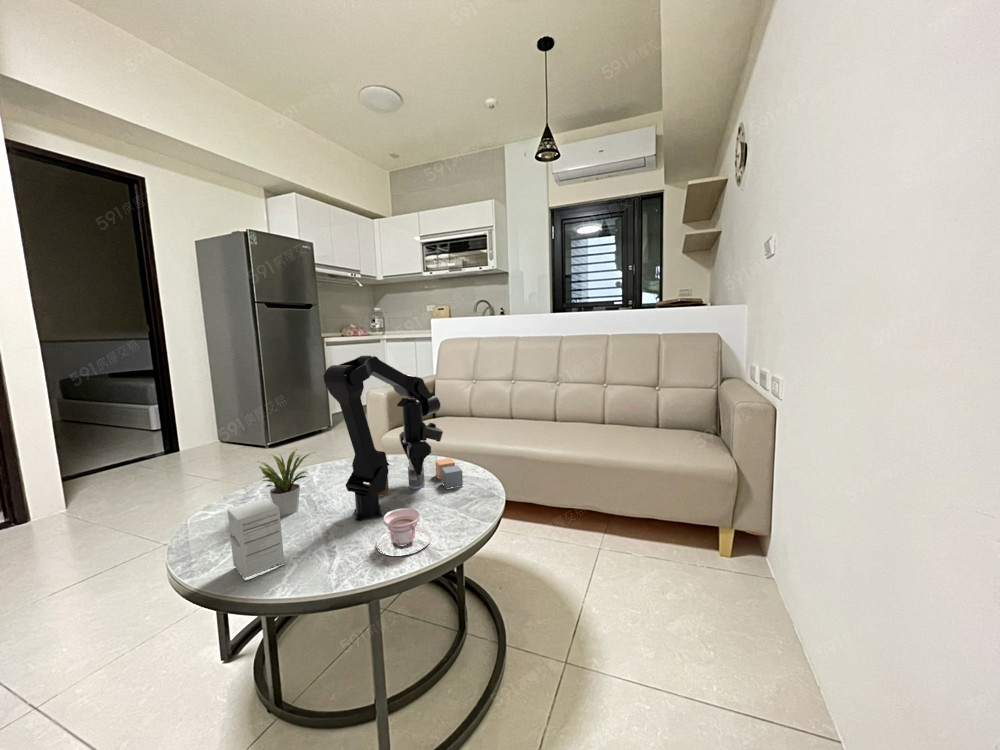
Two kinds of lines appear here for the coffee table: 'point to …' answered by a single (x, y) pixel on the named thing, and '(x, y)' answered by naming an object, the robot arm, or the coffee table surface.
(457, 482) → the slate-grey block
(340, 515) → the coffee table surface
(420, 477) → the pill bottle
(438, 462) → the terracotta block
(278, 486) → the house plant
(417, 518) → the teacup
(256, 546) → the supplement box
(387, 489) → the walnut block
